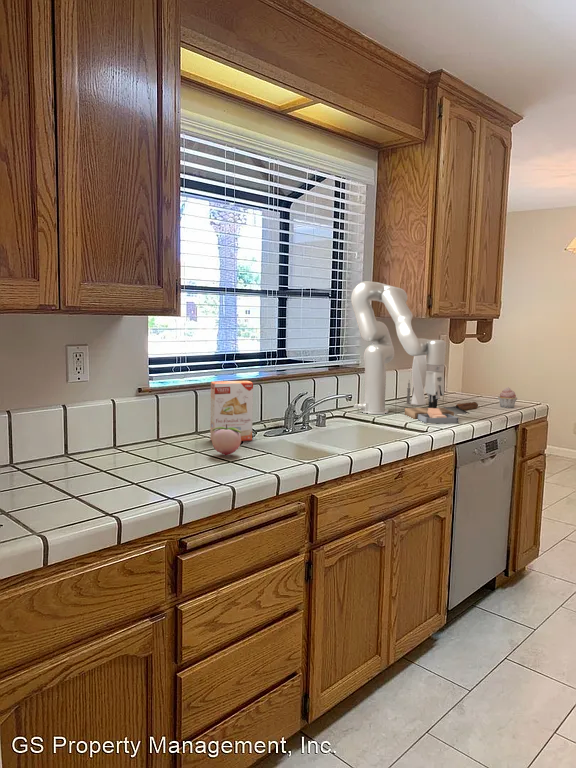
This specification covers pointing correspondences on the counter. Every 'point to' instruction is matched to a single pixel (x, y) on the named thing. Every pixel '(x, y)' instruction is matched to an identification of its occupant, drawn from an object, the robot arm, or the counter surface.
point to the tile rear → (433, 411)
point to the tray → (437, 419)
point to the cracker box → (232, 407)
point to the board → (423, 412)
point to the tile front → (438, 416)
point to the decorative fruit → (226, 440)
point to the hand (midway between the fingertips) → (432, 410)
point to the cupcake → (507, 398)
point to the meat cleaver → (462, 408)
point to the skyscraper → (418, 381)
